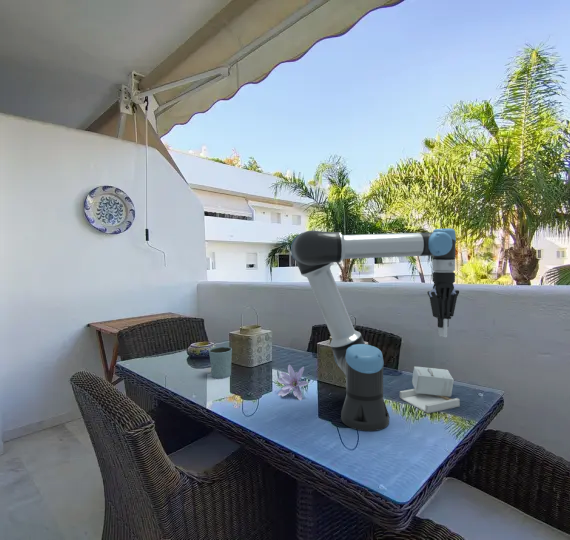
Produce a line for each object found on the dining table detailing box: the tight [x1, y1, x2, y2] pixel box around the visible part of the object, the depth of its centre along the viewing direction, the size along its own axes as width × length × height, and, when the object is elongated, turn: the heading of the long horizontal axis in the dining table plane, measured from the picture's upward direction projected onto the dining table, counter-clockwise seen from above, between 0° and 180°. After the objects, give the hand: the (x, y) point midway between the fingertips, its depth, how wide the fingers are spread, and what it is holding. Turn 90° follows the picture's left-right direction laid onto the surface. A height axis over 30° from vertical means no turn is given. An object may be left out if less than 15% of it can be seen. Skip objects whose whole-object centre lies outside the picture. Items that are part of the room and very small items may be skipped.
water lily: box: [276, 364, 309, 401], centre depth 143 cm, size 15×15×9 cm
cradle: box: [399, 388, 461, 414], centre depth 132 cm, size 14×14×2 cm
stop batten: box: [436, 395, 452, 400], centre depth 135 cm, size 1×12×1 cm, turn 21°
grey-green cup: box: [208, 346, 233, 380], centre depth 165 cm, size 10×10×12 cm
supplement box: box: [411, 365, 455, 398], centre depth 137 cm, size 7×7×13 cm
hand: (442, 336), depth 134 cm, fingers closed
